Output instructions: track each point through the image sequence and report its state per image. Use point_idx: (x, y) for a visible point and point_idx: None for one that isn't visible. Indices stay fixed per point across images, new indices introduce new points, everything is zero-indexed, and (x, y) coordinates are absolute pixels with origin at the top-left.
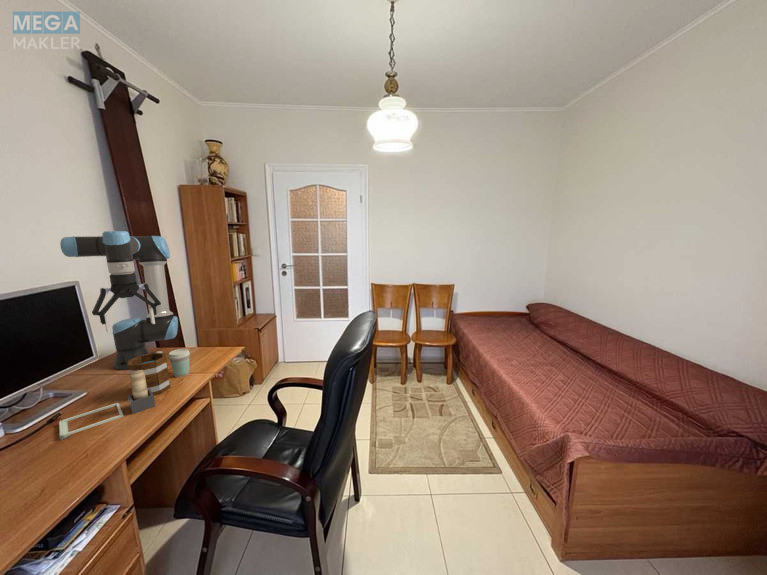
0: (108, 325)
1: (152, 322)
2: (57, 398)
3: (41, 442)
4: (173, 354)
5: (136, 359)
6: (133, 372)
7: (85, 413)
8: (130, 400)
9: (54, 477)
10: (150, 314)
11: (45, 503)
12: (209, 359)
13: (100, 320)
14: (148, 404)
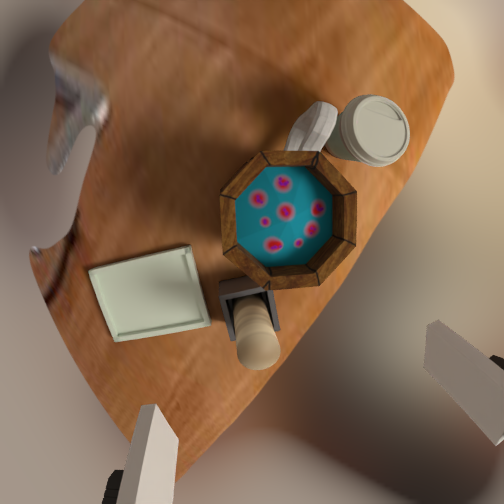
0: (170, 482)
1: (430, 370)
2: (57, 108)
3: (89, 324)
4: (366, 142)
5: (248, 185)
6: (248, 345)
7: (128, 266)
8: (228, 330)
9: None
10: (469, 386)
11: None
12: (406, 75)
13: (109, 498)
14: None
